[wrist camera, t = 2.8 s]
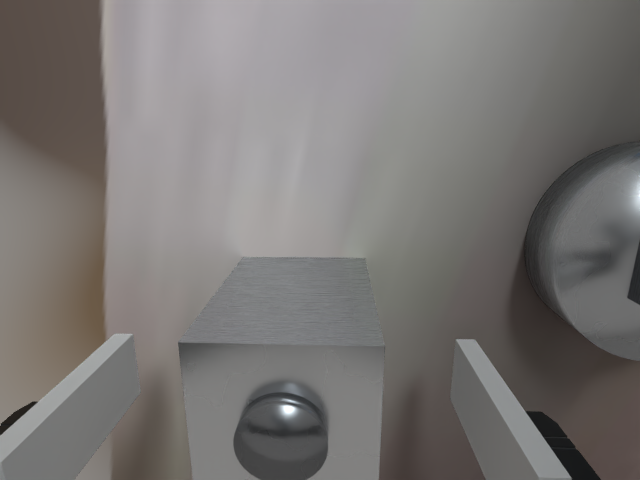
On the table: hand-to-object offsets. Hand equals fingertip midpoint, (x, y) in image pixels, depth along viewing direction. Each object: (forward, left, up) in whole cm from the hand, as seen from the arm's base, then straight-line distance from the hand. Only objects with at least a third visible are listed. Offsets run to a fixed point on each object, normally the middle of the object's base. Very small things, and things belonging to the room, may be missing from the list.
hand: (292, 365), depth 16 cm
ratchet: (-4, +23, -4) cm, 23 cm away
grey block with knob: (0, 0, -4) cm, 4 cm away
